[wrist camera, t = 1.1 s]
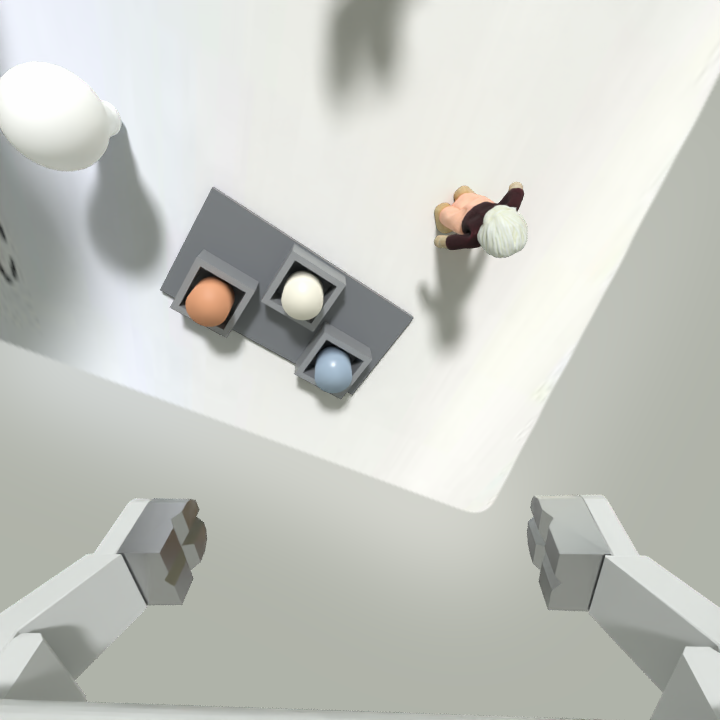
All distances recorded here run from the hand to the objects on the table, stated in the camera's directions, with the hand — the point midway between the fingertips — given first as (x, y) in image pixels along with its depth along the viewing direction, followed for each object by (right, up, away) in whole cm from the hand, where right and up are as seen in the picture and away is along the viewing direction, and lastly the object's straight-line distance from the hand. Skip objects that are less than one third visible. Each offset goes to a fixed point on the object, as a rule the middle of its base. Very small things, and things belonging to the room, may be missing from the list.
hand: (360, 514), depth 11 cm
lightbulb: (-20, +23, +25) cm, 39 cm away
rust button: (-13, +10, +30) cm, 34 cm away
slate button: (-3, +4, +34) cm, 34 cm away
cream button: (-5, +10, +30) cm, 32 cm away
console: (-7, +9, +33) cm, 35 cm away
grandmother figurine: (+9, +18, +30) cm, 36 cm away
